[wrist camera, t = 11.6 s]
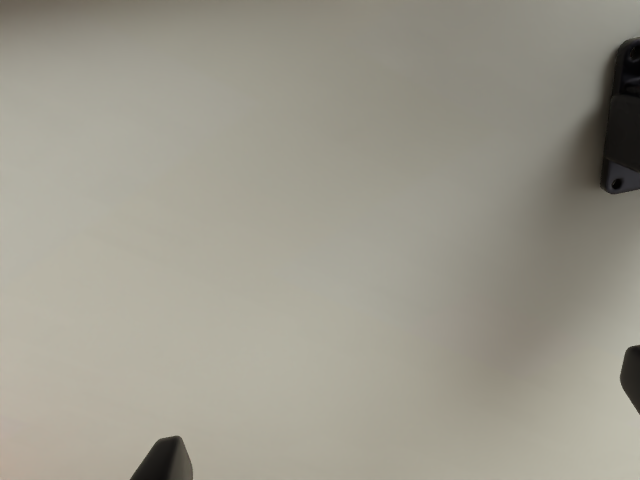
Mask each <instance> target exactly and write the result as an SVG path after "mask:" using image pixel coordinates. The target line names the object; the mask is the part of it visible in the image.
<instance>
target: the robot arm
mask: <svg viewBox="0 0 640 480" xmlns="http://www.w3.org/2000/svg"><path fill="white" fill-rule="evenodd" d="M633 48H635V53H634V55H633V56H632V57H631V58H630V53H631V50H632V49H633ZM615 179H616V182H615V183H614V184H613V185H612V182H613V181H614V180H615ZM600 185H601V188H602V190H604V191H606V192H608V193H610V194H618V193H623V192H628V191H633V190H638V189H640V37H638V38H633V39H629V40H627V41H625V42H624V43H623V44H622V45H621V46H620V48H619V50H618V53H617V58H616V66H615V74H614V81H613V89H612V97H611V102H610V110H609V118H608V126H607V133H606V141H605V149H604V159H603V166H602V174H601V182H600ZM620 382H621V385H622V387H623V389H624V391H625V393H626V394H627V396H628V397H629V399H630V400H631V402H632V404H633V405H634V407H635V408H636V410H637V411H638V413H639V414H640V345H637V346H631V347H629V348H628V349H627V350H626V352H625V356H624V361H623V365H622V370H621V374H620ZM130 480H193V469H192V464H191V461H190V458H189V455H188V453H187V450H186V448H185V445H184V442H183V440H182V438H181V437H180V436H172V437H167V438H162V439H159V440H158V441H157V442H156V443H155V444H154V446H153V447H152V448H151V450H150V451H149V453H148V454H147V456H146V457H145V459H144V460H143V461H142V463H141V464H140V466H139V467H138V469H137V470H136V471H135V473H134V474H133V476H132V477H131V479H130Z"/></svg>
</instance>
